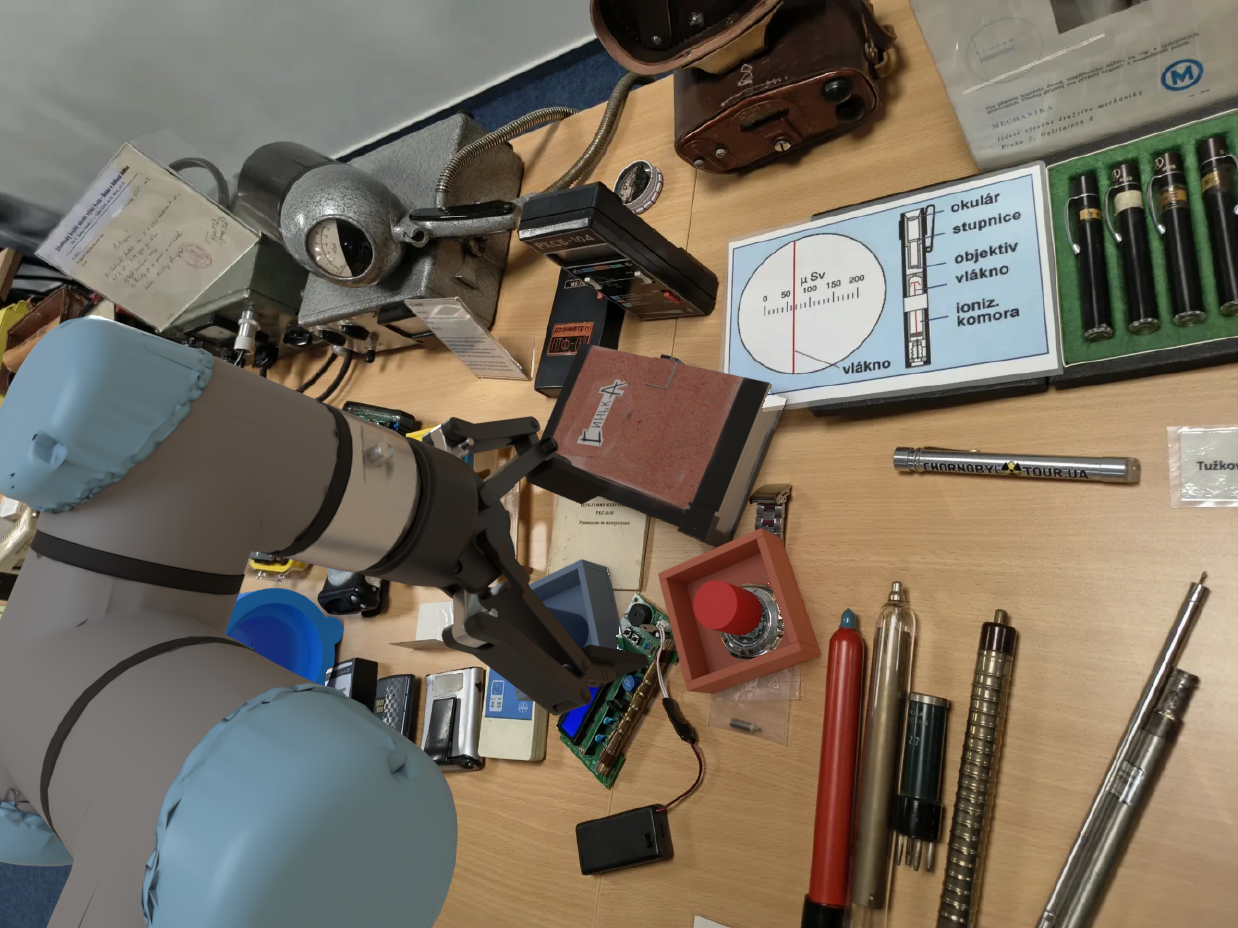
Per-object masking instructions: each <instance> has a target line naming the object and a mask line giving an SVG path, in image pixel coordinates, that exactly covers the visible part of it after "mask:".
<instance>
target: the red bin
mask: <svg viewBox="0 0 1238 928" xmlns="http://www.w3.org/2000/svg"><path fill="white" fill-rule="evenodd" d="M657 576H658V578H659V579H658V580H659V583H660V588H661V592H662V597H663V600H664V604H665V608H666V612H667V616H668V620H669V624H670V628H671V632H672V636H673V640H674V644H675V648H676V653H677V656H678V657H677V658H678V660H679V665H680V668H681V669H680V670H681V673H682V676H683V681H684V684H685V689H686V691H687V692H693V693H700V694H701V693H702V694H709V695H712V694H716V693H718V692H721V691H724V690H727V689H730V688H732V687H736V686H739V685H741V684H744V683H747V682H750V681H753V680H755V679H758V678H762V677H765V676H768V675H770V674H773V673H775V672H779V671H781V670H785V669H788V668H791V667H793V666H796V665H799V664H802V663H804V662H807V661H810V660H814V659H816V658H819V657H821V656H822V653H821V651H820V647H819V644H818V641H817V638H816V636H815V632H814V629H813V627H812V624H811V621H810V619H809V618H810V617H809V615H808V612H807V609H806V606H805V604H804V601H803V597H802V594H801V592H800V589H799V586H798V583H797V579H796V576H795V573H794V570H793V568H792V565H791V562H790V559H789V556H788V552H787V550H786V548H785V544H784V542H783V539H782V538H781V537H779V536H777V535H775V534H774V533H772V532H770V531H768V530H766V529H764V528H762V527H760V528H757V529H756V530H753V531H751V532H748V533H746V534H744V535H742V536H740V537H738V538H734V539H733V540H732V541H731V542H728V543H726V544H724V545H722V546H719V547H714V548H713V549H710V550H707V551H706V552H703V553H702V554H699V555H697V556H694V557H693V558H690V559H688V560H686V561H683V562H681V563H679V564H676V565H674V566H672V567H670V568H667V569H666V570H663V571H661V572H658V573H657ZM766 576H767V577H766ZM765 578H766V579H765ZM767 579H768V580H767ZM712 580H721V581H724V582H727V583H729V584H732V585H735V586H737V587H739V586H741V585H742V584H745V583H746V584H747V583H748V584H749V583H750V584H754V583H755V584H759V585H760V584H761V583H762V584H761V585H763V584H764V585H763V586H765V584H766V585H767V584H768V583H769V584H768V587H769V586H770V588H769V589H771V591H772V590H773V592H774V595H775V598H776V601H777V604H778V607H779V610H780V614H781V617H782V620H783V623H784V626H785V632H784V634H783V637H782V640H781V642H780V644H778V646H777V648H776V650H774V651H771V652H768V653H766V654H763V655H760V656H757V657H755V658H752V659H749V660H739V659H736V658H734V657H733V656H730V655H729V653H728V650H727V648H726V646H725V644H724V643H723V641H722V639H721V636H720V631H716V630H712V629H708V628H706V627H704V626H703V625H701V624H700V623H699V621H698V620H697V618H696V616H695V613H694V608H693V603H694V598H695V595H696V593H697V591H698V590H699V589H700V587H701V586H702V585H704V584H705V583H707V582H709V581H712ZM755 584H754V585H755Z"/></svg>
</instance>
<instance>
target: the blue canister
mask: <svg viewBox="0 0 1238 928" xmlns="http://www.w3.org/2000/svg"><path fill="white" fill-rule="evenodd" d="M547 608H548V610H549V611H550V612H551V613H552V615H553V616H554V617H555V618H556V619H557V621H558V622H559V623H560V624H561V626H562V627H563V628H564V629H565V630H566V632H567V633H568V634H569V635H570V637H571V638H572V639H573V640H574V641H575V643H576V644H577V645H578V646H579V648H583V647H584V645H585V644H586V641H587V638H588V625H587V622H586V620H585V619H584V618H583V617H582V616H581V615H579V614H576V613H572V612H567V611H563V610H558V609H554V608H550V607H547Z"/></svg>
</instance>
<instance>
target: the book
mask: <svg viewBox="0 0 1238 928" xmlns="http://www.w3.org/2000/svg"><path fill="white" fill-rule="evenodd" d="M771 386H772V387H773V384H772V383H771V382H769V381H764V380H760V379H759V380H758V379H755V378H750V377H745V376H740V375H736V374H731V373H726V372H721V371H717V370H712V369H709V368H708V369H707V368H703V367H698V366H694V365H688V364H686V363H684V361H682V360H681V359H680V358H677V357H673V356H671V355H668V354H663V353H661V354H660V357H656V356H653V357H651V356H646V355H641V354H637V353H631V352H627V351H623V350H618V349H613V348H609V347H604V346H599V345H594V344H591V343H590V344H589V343H586V342H585V343H584V342H580V343H579V345H578V348H577V351H576V353H575V356H574V357H573V360H572V362H571V365H570V368H569V370H568V372H567V375H566V377H565V380H564V381H563V385H562V387H561V389H560V391H559V394H558V396H557V399H556V400H555V403H554V406H553V408H552V411H551V413H550V415H549V417H548V420H547V422H546V425H545V428H544V430H543V432H542V435H541V437H540V438H539V440H540V441H541V440H543V439H544V438H546V437H548V436H552V437H553V438H554V439H555V440H556V441H557V443H558V451H556V453H558V454H560V455H562V456H564V457H566V458H568V459H569V460H570V461H571V462H572V465H573V466H575V467H577V468H579V469H581V470H583V471H585V472H587V473H590V474H592V475H594V476H596V477H598V478H600V479H602V480H604V481H607V483H608V487H609V491H607V492H605V493H603V494H601V495H599V496H598V497H600V498H602V499H605V500H607V499H608V501H610V502H612V503H615V504H617V505H620V504H621V506H623V507H626V508H628V509H631V510H633V509H634V511H636V512H638V511H639V513H640V514H641V513H642V514H644V515H645V516H649V517H651V518H655V519H657V520H659V521H661V522H665V523H668V524H670V525H672V526H674V527H678V529H677V532H679V533H681V534H683V535H686V536H688V537H690V538H691V539H694V540H697V541H699V542H702V543H705V544H707V545H709V546H712V547H714V548H717V547H719V546H722V545H724V544H726V543H728V542H731V541H733V540H734V538H735V537H734V536H735V534H736V532H737V529H738V527H739V524H740V522H741V519H742V517H743V514H744V512H745V509H746V507H747V504H748V502H749V499H750V496H751V494H752V491H753V489H754V486H755V484H756V481H757V478H758V476H759V474H760V471H761V468H762V466H763V463H764V462H765V461H764V460H765V458H766V456H767V454H768V453H767V452H768V450H769V448H770V445H771V443H772V440H773V438H774V435H775V432H776V430H777V428H778V425H779V422H780V420H781V417H782V414H783V412H784V410H778V411H768V412H763V411H762V410H763V408H762V407H763V404H764V402H765V398H766V397H767V394H768V392H769V390H770V389H771V390H772V387H771ZM771 390H770V391H771Z"/></svg>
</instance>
